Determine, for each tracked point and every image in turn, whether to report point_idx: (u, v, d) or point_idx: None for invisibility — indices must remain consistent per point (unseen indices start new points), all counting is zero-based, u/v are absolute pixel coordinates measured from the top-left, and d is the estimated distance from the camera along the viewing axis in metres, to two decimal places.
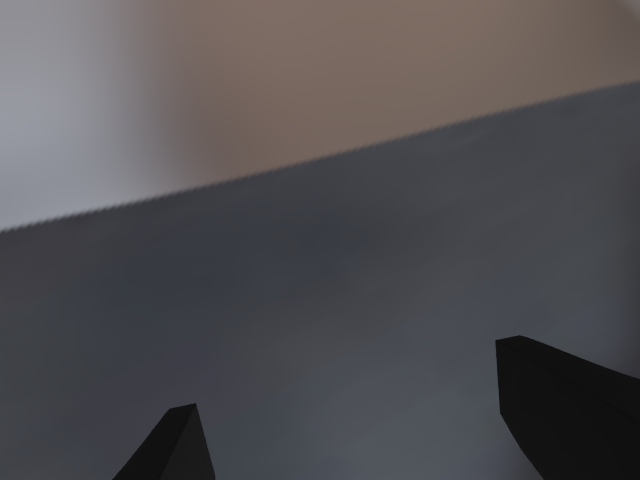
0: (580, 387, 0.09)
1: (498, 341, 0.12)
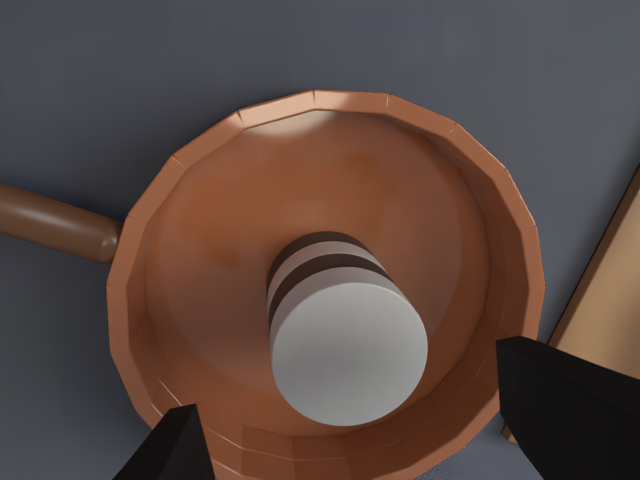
0: (580, 387, 0.09)
1: (498, 341, 0.12)
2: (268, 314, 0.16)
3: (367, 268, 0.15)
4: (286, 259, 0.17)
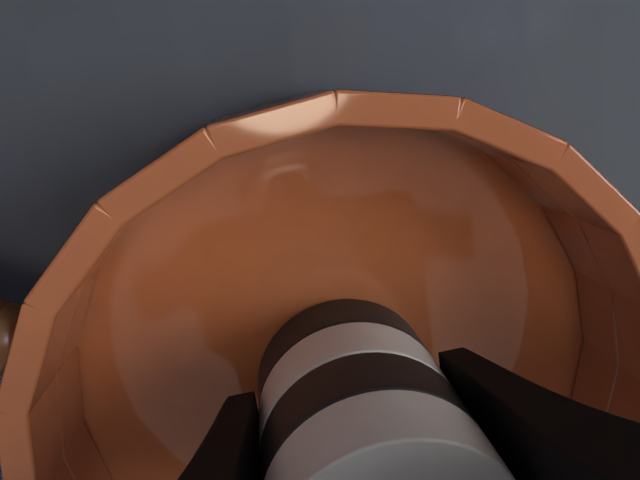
0: (504, 404, 0.09)
1: (440, 353, 0.12)
2: (259, 447, 0.10)
3: (423, 389, 0.09)
4: (288, 350, 0.11)
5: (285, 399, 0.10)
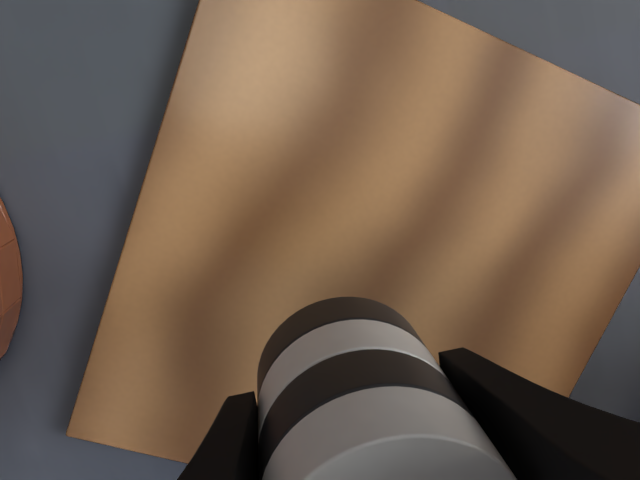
0: (504, 404, 0.09)
1: (440, 353, 0.12)
2: (258, 444, 0.10)
3: (422, 386, 0.09)
4: (287, 347, 0.11)
5: (284, 396, 0.10)
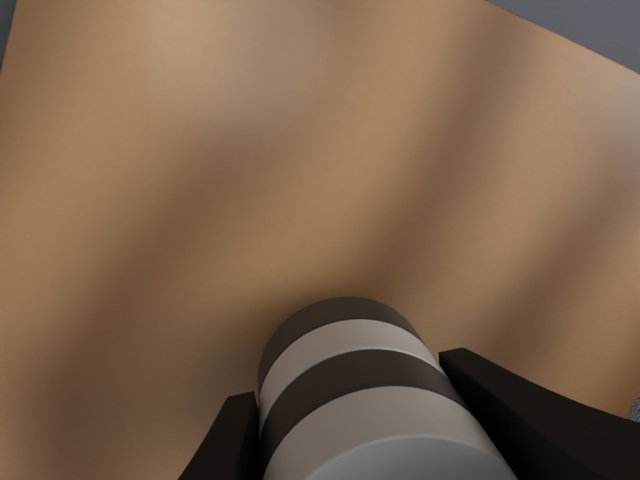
0: (504, 404, 0.09)
1: (440, 353, 0.12)
2: (259, 444, 0.10)
3: (423, 385, 0.09)
4: (287, 347, 0.11)
5: (285, 396, 0.10)
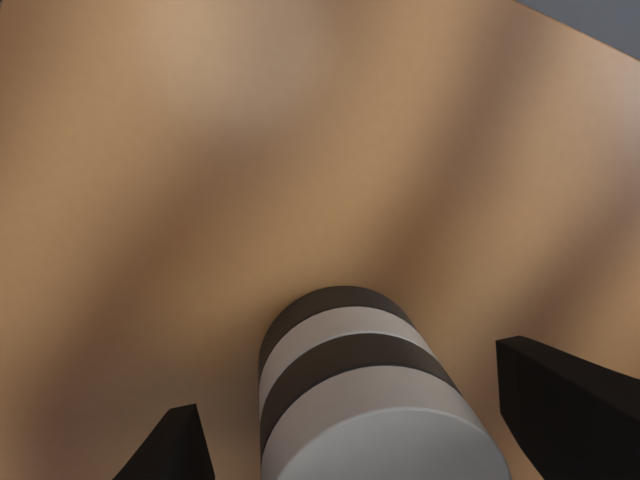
0: (580, 387, 0.09)
1: (498, 341, 0.12)
2: None
3: (413, 365, 0.10)
4: (287, 333, 0.12)
5: (284, 377, 0.11)
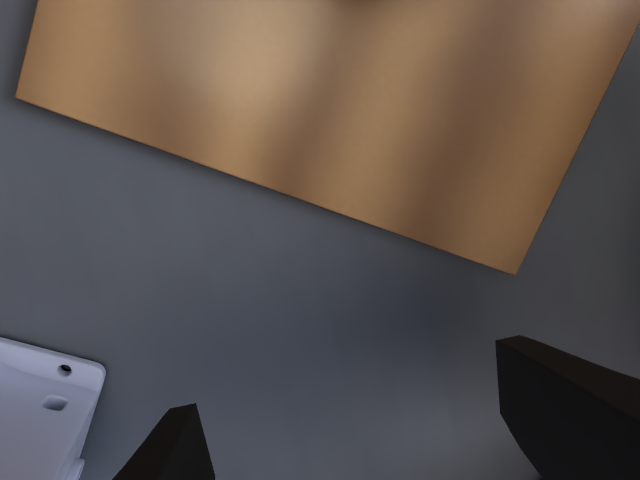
0: (580, 387, 0.09)
1: (498, 341, 0.12)
2: None
3: None
4: None
5: None
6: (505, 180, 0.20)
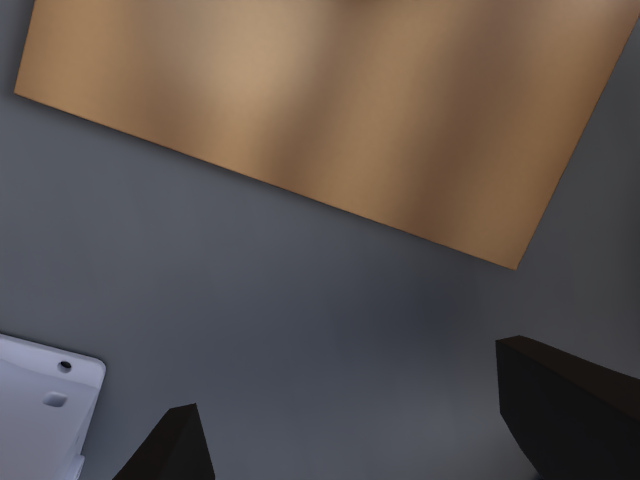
0: (580, 387, 0.09)
1: (498, 341, 0.12)
2: None
3: None
4: None
5: None
6: (505, 175, 0.20)
